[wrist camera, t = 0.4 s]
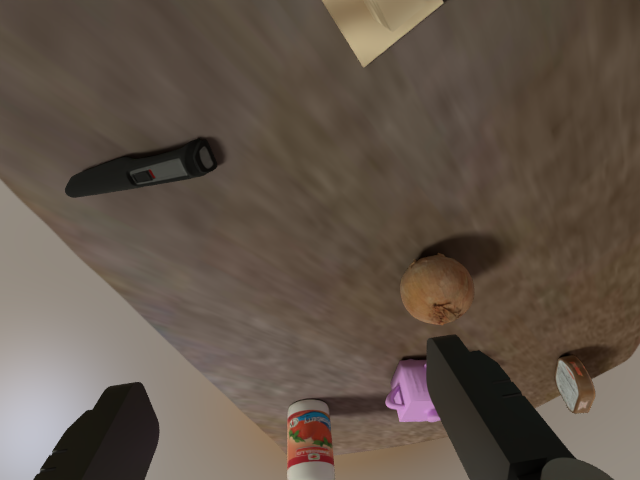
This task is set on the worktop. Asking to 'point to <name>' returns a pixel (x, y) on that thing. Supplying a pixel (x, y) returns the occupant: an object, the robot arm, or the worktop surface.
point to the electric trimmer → (144, 171)
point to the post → (377, 22)
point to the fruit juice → (309, 441)
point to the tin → (574, 384)
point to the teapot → (411, 393)
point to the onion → (437, 289)
